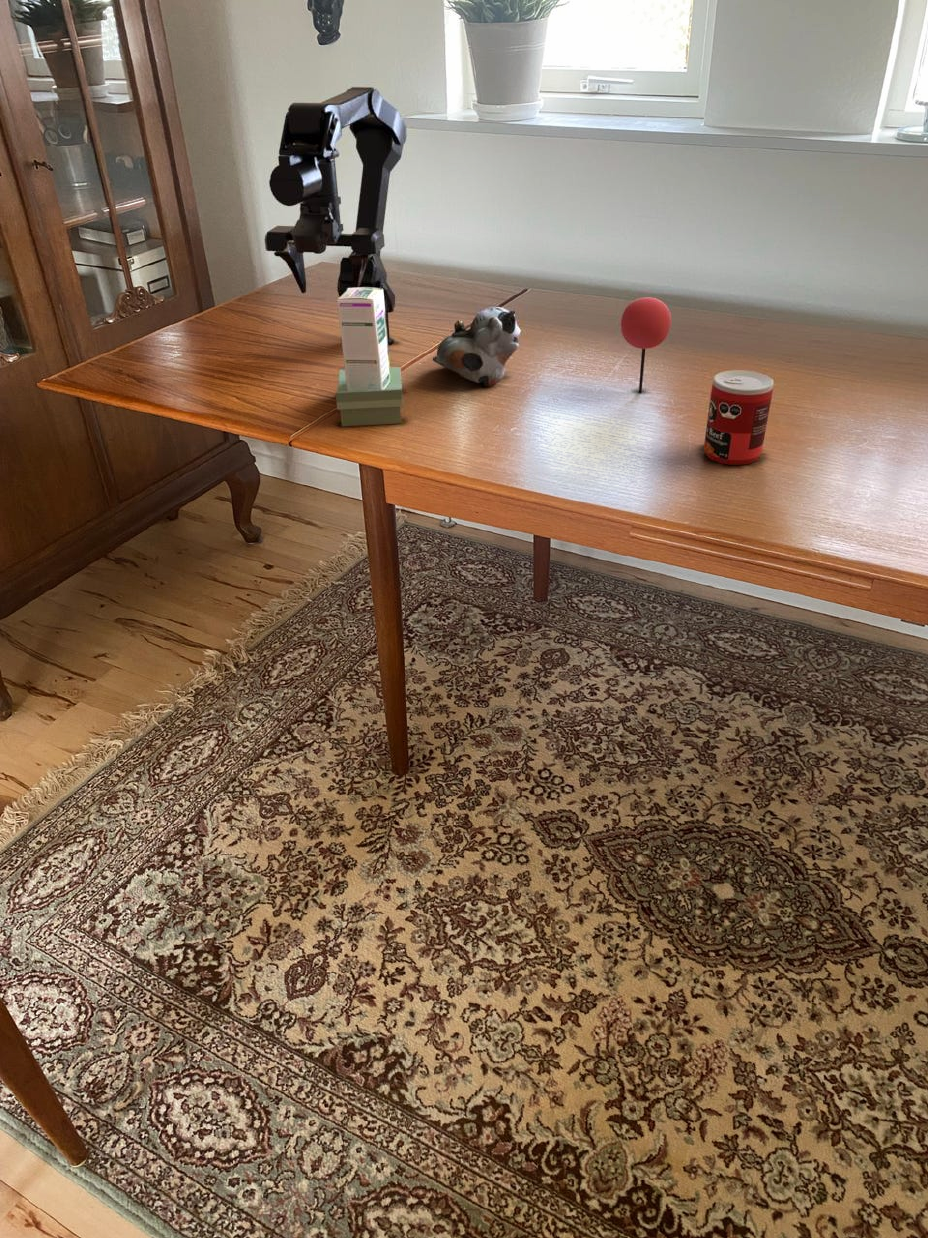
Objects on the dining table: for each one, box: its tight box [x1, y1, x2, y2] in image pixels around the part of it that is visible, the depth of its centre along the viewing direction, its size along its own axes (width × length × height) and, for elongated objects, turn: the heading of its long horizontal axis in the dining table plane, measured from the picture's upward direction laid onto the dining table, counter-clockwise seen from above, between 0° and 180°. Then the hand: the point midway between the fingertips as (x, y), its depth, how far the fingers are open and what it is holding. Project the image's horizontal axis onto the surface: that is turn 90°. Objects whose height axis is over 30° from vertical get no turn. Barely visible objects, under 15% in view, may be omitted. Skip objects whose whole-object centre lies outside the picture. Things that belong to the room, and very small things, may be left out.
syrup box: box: [336, 287, 391, 391], centre depth 140 cm, size 6×6×14 cm
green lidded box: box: [335, 366, 404, 427], centre depth 146 cm, size 10×14×6 cm
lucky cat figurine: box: [432, 306, 522, 387], centre depth 155 cm, size 15×12×14 cm
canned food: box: [703, 369, 775, 466], centre depth 128 cm, size 8×8×11 cm
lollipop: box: [620, 296, 672, 393], centre depth 147 cm, size 8×8×15 cm
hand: (330, 293), depth 155 cm, fingers open, 9 cm apart
